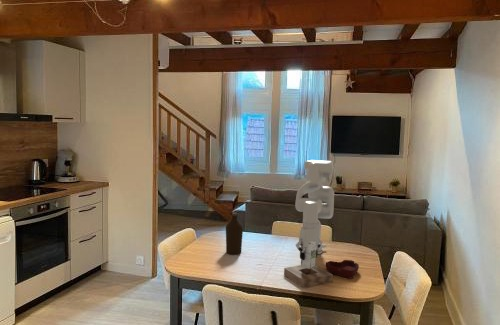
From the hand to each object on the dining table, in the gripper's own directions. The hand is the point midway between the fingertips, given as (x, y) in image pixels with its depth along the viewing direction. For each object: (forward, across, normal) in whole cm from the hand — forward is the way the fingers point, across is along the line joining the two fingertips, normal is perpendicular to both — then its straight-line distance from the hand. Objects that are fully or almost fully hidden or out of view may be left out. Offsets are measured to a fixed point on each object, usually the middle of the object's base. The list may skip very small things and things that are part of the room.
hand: (308, 257), depth 204 cm
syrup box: (+5, 0, 0) cm, 5 cm away
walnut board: (+11, 0, 0) cm, 11 cm away
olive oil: (+11, +18, -53) cm, 57 cm away
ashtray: (+12, -23, +2) cm, 26 cm away
